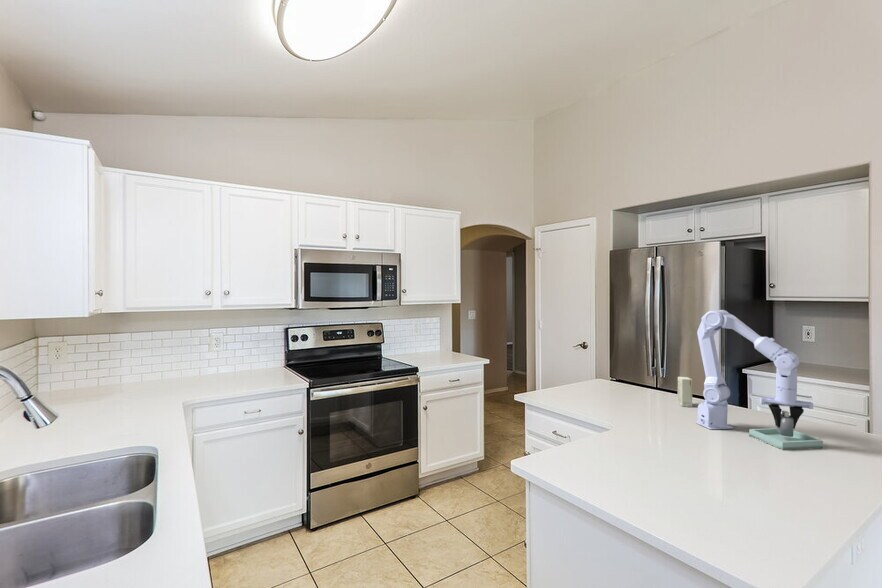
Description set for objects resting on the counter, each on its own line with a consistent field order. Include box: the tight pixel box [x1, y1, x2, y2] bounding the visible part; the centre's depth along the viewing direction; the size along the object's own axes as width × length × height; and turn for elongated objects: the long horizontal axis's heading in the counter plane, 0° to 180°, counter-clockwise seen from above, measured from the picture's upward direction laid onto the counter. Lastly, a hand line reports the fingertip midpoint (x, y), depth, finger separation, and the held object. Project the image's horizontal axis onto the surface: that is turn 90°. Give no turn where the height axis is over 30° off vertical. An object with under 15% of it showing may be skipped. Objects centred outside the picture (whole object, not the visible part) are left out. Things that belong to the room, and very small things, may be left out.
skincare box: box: [676, 376, 693, 408], centre depth 194 cm, size 6×4×12 cm
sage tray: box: [748, 427, 824, 451], centre depth 149 cm, size 15×13×2 cm
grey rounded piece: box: [776, 410, 794, 437], centre depth 149 cm, size 4×6×8 cm, turn 159°
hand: (785, 427), depth 149 cm, fingers closed on grey rounded piece, 3 cm apart
